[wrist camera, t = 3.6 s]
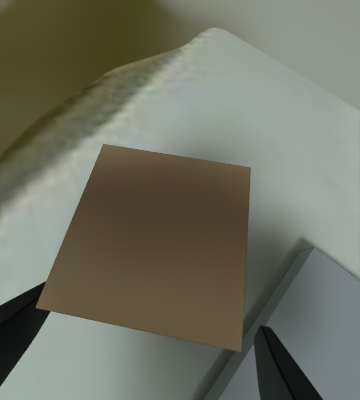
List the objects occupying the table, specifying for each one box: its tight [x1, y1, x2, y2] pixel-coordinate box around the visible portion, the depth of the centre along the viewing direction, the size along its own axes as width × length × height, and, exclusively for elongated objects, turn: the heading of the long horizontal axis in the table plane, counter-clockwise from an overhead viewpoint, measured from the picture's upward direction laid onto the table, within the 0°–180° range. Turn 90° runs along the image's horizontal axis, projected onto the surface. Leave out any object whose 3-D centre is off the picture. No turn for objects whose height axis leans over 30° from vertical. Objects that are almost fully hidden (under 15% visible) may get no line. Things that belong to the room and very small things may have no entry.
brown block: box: [36, 144, 251, 352], centre depth 12 cm, size 5×5×13 cm
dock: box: [203, 247, 360, 400], centre depth 13 cm, size 16×12×2 cm
